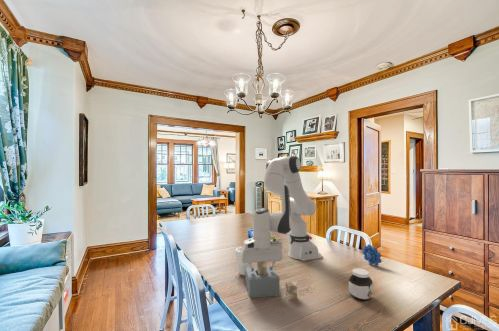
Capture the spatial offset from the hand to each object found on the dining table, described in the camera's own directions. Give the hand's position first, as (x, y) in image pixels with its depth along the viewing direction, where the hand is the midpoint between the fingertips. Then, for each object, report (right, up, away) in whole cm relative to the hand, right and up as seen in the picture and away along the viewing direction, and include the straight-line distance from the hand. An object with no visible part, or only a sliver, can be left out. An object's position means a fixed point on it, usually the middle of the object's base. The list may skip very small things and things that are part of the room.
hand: (261, 270), depth 116 cm
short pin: (+13, -9, -7) cm, 18 cm away
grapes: (+68, -10, +29) cm, 75 cm away
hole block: (0, -9, 0) cm, 9 cm away
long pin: (0, -9, 0) cm, 9 cm away
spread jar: (+45, -9, -5) cm, 47 cm away
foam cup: (-9, -10, +19) cm, 23 cm away
